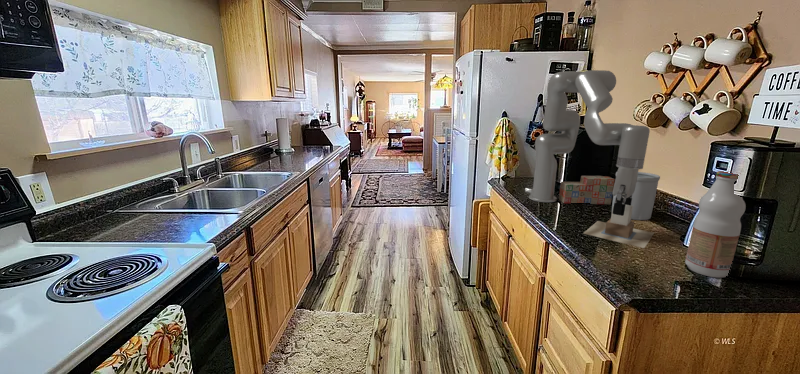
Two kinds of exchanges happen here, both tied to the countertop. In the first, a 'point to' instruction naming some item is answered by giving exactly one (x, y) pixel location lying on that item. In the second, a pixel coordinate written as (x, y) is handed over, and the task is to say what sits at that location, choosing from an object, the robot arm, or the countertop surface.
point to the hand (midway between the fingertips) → (621, 211)
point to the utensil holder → (643, 196)
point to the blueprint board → (635, 239)
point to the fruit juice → (716, 228)
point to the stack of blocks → (588, 190)
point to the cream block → (622, 219)
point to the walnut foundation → (619, 229)
